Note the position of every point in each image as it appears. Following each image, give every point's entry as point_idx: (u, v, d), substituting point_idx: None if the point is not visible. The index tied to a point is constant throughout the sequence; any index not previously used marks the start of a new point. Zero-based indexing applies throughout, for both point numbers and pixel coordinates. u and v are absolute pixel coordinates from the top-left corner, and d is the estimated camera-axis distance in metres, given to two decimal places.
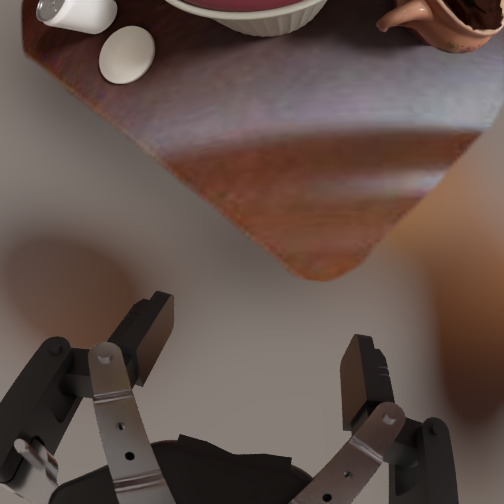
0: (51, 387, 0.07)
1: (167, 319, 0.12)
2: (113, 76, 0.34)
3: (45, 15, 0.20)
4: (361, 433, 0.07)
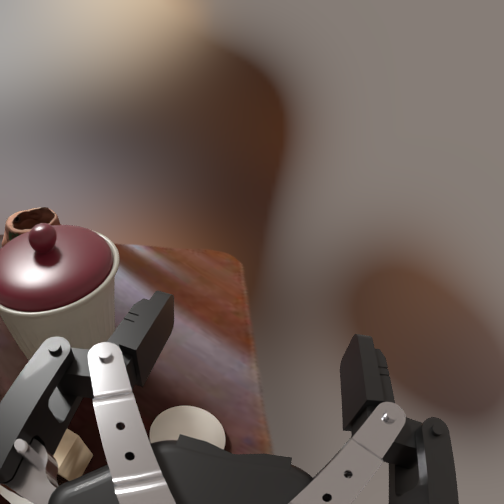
0: (51, 387, 0.07)
1: (167, 319, 0.12)
2: (217, 433, 0.31)
3: None
4: (361, 433, 0.07)
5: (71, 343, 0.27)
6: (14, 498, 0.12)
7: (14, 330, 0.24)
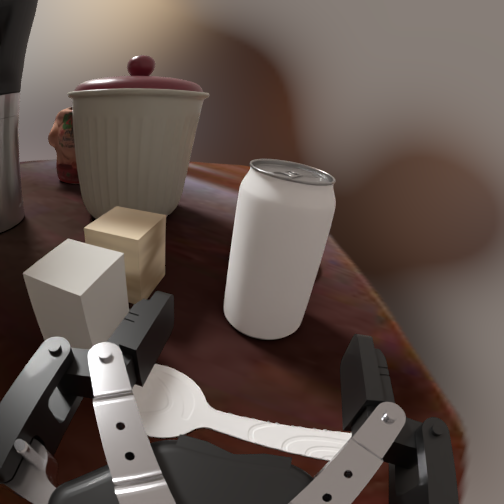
0: (51, 387, 0.07)
1: (167, 319, 0.12)
2: None
3: (317, 177, 0.19)
4: (361, 433, 0.07)
5: (162, 142, 0.29)
6: (57, 276, 0.15)
7: (99, 127, 0.26)
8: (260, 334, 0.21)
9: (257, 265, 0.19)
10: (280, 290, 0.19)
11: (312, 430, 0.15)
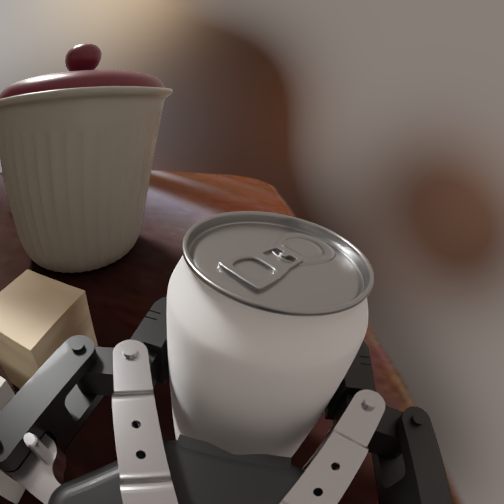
0: (69, 385, 0.07)
1: None
2: None
3: (333, 257, 0.09)
4: (342, 423, 0.08)
5: (98, 164, 0.19)
6: None
7: (16, 149, 0.16)
8: None
9: (208, 432, 0.09)
10: None
11: None
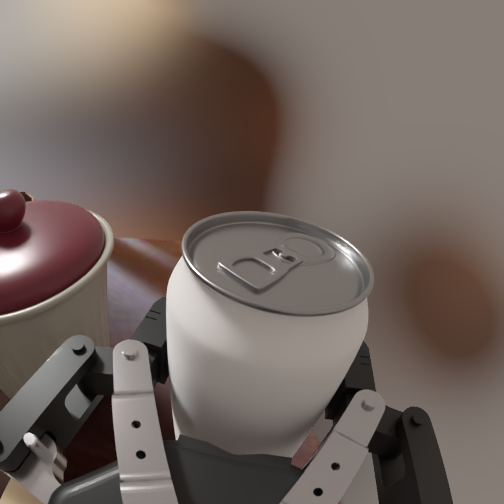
0: (70, 385, 0.07)
1: None
2: None
3: (333, 257, 0.09)
4: (342, 423, 0.08)
5: None
6: None
7: None
8: None
9: (208, 432, 0.09)
10: None
11: None
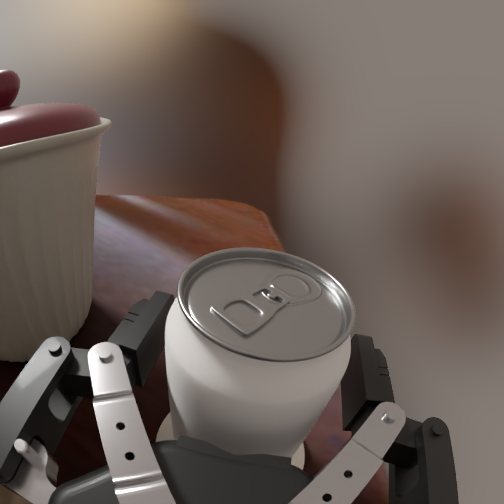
0: (51, 387, 0.07)
1: None
2: None
3: (319, 295, 0.10)
4: (361, 433, 0.07)
5: (4, 255, 0.12)
6: None
7: None
8: None
9: None
10: None
11: None
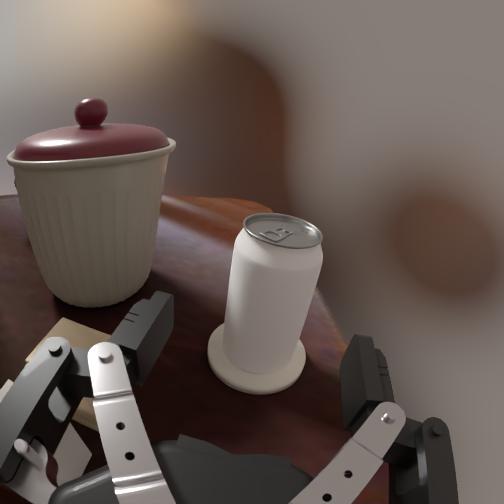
0: (51, 387, 0.07)
1: (167, 319, 0.12)
2: None
3: (306, 232, 0.21)
4: (361, 433, 0.07)
5: (115, 221, 0.23)
6: None
7: (39, 207, 0.20)
8: (254, 370, 0.23)
9: (251, 315, 0.21)
10: (271, 336, 0.21)
11: None
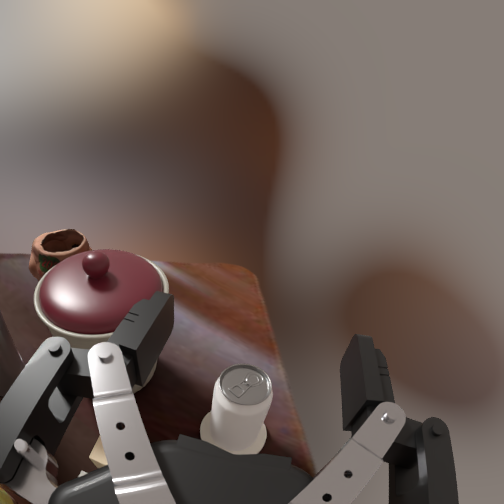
0: (51, 387, 0.07)
1: (167, 319, 0.12)
2: None
3: (262, 382, 0.30)
4: (361, 433, 0.07)
5: None
6: None
7: None
8: (230, 449, 0.32)
9: (225, 428, 0.29)
10: (239, 437, 0.30)
11: None
